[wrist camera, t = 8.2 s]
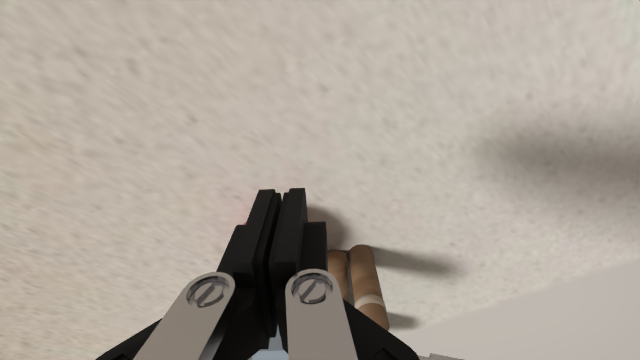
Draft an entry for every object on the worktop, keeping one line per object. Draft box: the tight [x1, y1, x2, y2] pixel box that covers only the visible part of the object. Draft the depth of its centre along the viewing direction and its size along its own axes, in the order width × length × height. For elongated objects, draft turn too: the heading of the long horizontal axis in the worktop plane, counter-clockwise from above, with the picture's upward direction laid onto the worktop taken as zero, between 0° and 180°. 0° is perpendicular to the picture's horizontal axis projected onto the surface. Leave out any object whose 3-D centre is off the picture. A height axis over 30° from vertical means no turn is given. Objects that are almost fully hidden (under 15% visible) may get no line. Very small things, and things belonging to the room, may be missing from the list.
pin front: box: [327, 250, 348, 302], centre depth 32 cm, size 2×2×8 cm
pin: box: [349, 245, 389, 331], centre depth 28 cm, size 2×2×8 cm
